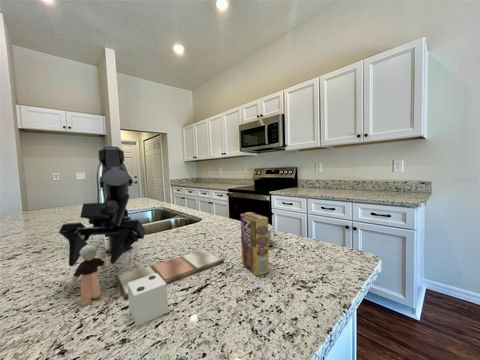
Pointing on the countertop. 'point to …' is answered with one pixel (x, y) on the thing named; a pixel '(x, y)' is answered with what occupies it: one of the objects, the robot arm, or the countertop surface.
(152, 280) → the white die
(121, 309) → the countertop surface
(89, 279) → the grandmother figurine
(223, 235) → the countertop surface
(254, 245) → the candy box
